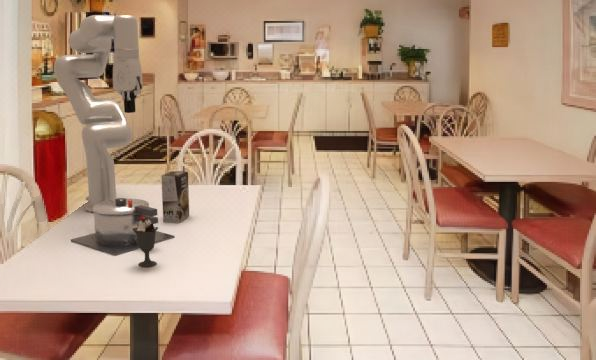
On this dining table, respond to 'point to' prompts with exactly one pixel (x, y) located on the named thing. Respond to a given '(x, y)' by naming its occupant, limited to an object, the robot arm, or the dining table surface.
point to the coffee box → (175, 196)
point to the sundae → (145, 239)
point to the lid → (124, 207)
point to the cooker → (117, 233)
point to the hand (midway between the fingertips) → (130, 112)
